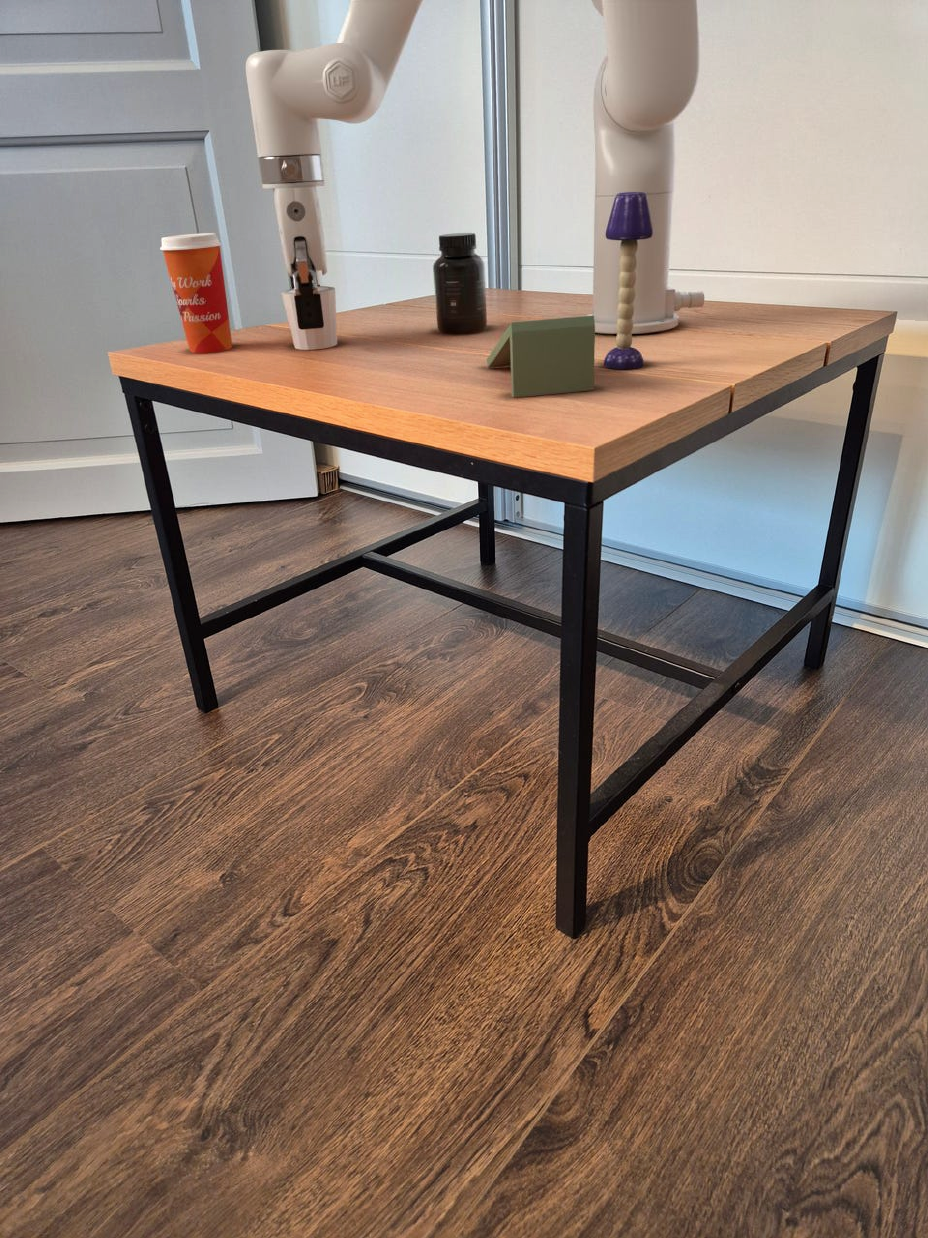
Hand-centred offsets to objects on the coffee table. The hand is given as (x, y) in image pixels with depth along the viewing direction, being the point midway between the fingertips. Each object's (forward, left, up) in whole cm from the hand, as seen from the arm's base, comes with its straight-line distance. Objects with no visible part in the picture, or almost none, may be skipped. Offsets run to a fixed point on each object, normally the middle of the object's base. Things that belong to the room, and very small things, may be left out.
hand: (311, 322), depth 109 cm
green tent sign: (-23, +30, -3) cm, 38 cm away
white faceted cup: (0, 0, -3) cm, 3 cm away
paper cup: (+14, -4, -3) cm, 15 cm away
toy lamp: (-33, +28, -3) cm, 44 cm away
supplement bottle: (-20, -2, -3) cm, 21 cm away
